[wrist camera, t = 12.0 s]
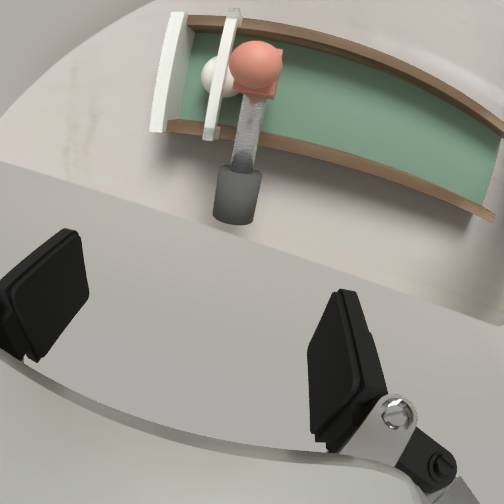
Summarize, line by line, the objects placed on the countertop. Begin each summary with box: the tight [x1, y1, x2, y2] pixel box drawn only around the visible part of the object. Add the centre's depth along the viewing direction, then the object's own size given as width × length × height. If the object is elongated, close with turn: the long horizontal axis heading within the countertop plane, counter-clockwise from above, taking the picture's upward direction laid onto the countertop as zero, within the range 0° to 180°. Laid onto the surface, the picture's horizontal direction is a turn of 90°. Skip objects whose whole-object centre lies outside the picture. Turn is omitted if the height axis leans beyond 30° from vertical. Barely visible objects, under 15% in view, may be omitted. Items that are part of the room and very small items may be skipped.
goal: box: [149, 8, 243, 141], centre depth 19 cm, size 11×6×5 cm, turn 169°
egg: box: [201, 56, 240, 98], centre depth 20 cm, size 4×4×4 cm
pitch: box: [166, 15, 504, 223], centre depth 21 cm, size 11×36×4 cm, turn 79°
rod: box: [213, 41, 283, 225], centre depth 18 cm, size 14×3×12 cm, turn 169°
